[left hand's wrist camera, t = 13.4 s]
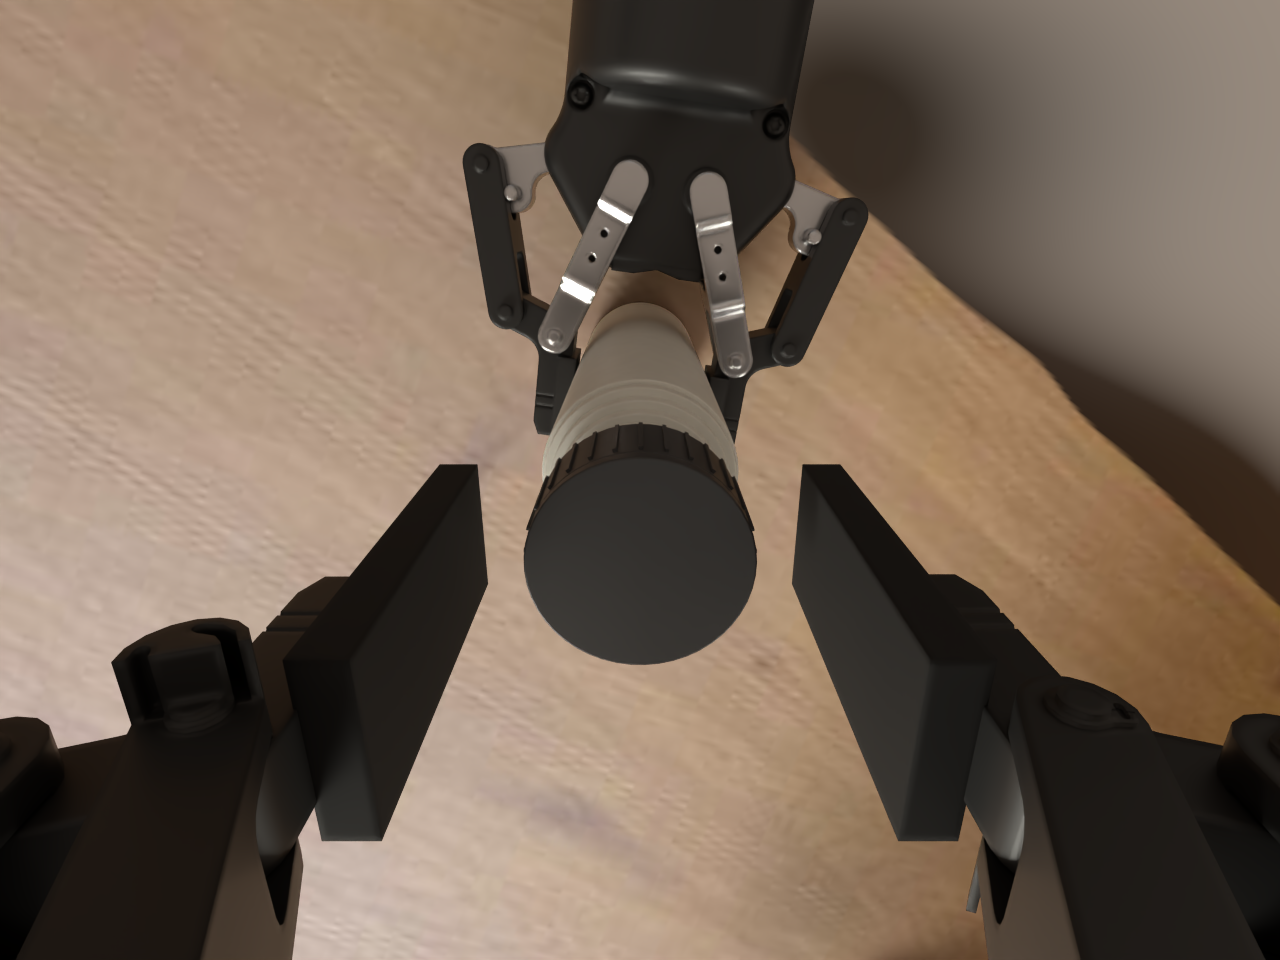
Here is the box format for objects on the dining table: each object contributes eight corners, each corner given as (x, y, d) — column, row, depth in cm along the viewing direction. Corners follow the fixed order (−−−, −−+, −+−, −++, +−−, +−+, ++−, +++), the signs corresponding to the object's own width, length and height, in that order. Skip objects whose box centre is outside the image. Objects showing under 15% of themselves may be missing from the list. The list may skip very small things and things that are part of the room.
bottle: (598, 291, 31) (533, 407, 12) (704, 315, 32) (802, 465, 13) (578, 395, 33) (492, 641, 14) (678, 416, 34) (730, 686, 14)
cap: (556, 399, 14) (542, 429, 12) (769, 445, 14) (790, 482, 12) (521, 589, 15) (503, 644, 13) (714, 626, 16) (724, 686, 14)
